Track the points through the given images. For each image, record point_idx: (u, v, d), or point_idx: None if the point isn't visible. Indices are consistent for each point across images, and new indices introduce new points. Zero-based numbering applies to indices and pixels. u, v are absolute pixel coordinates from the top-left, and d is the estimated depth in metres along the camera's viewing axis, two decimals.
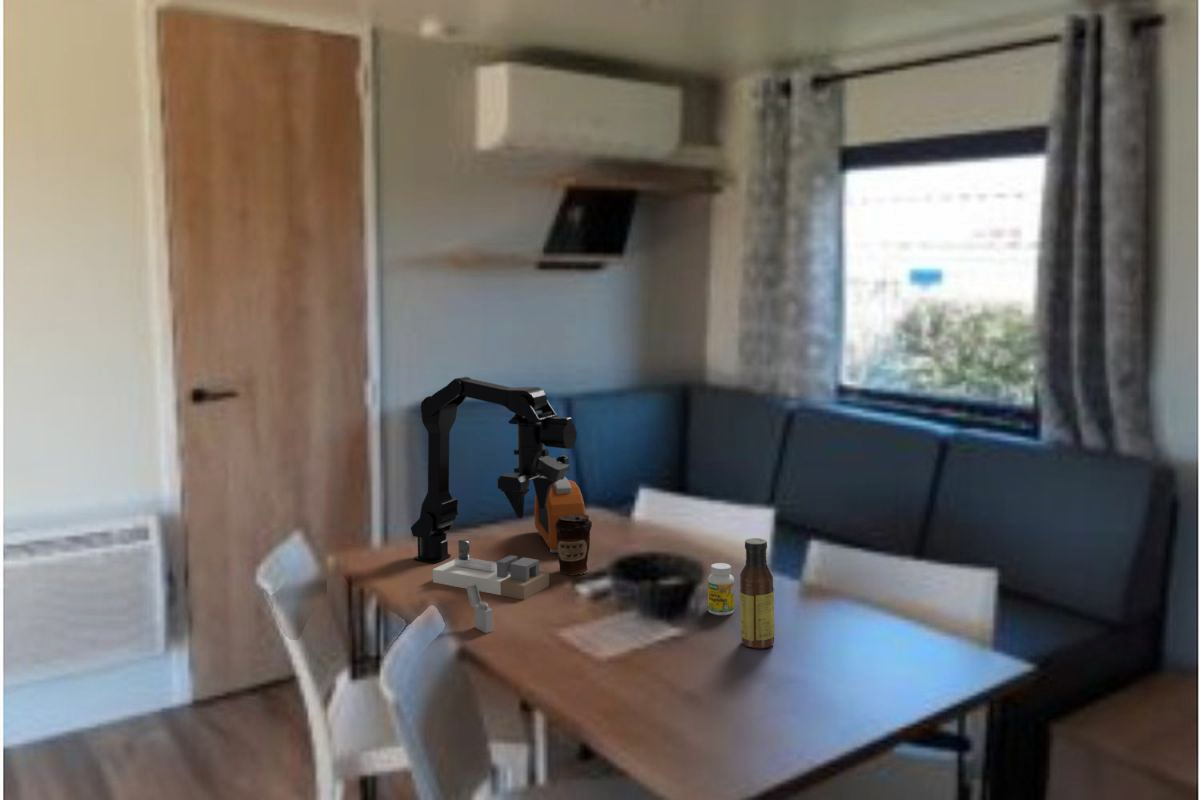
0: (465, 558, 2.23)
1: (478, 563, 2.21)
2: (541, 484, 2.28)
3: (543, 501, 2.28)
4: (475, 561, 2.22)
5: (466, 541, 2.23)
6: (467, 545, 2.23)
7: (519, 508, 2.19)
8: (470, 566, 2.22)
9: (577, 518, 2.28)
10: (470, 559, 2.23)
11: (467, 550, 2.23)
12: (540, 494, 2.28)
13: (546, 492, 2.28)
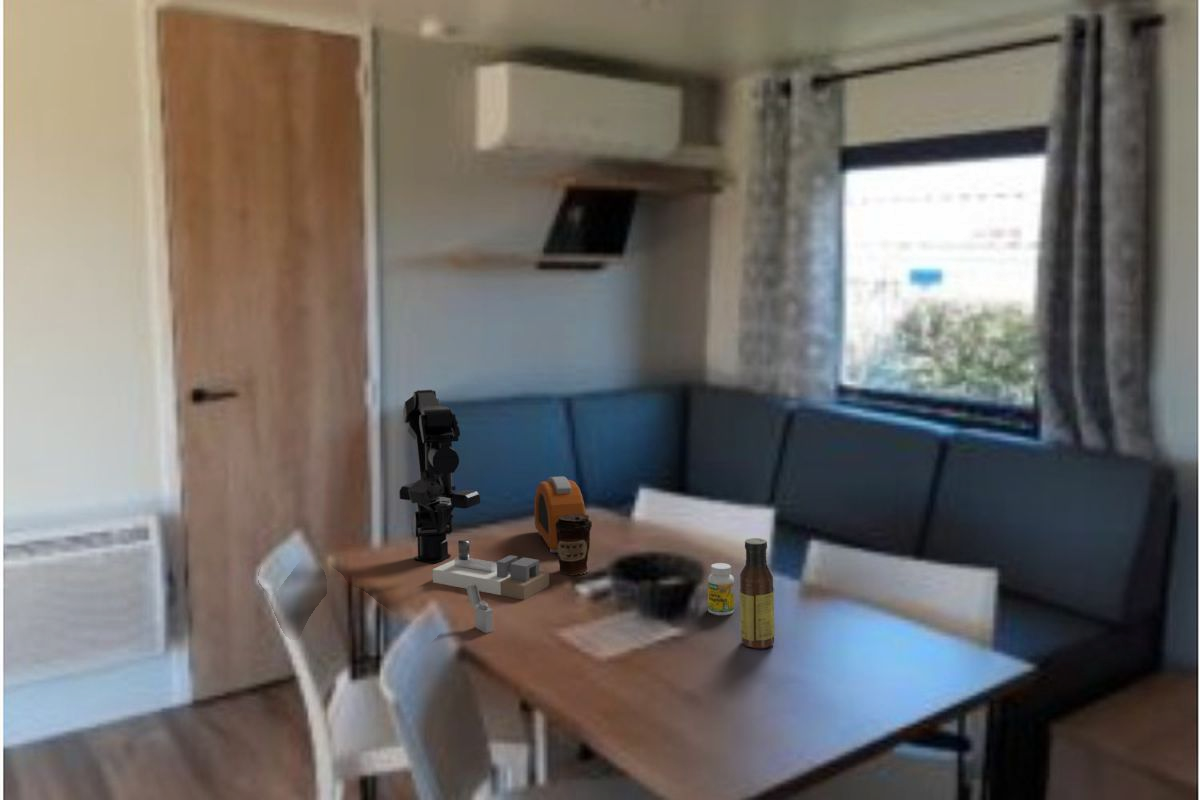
0: (465, 558, 2.23)
1: (478, 563, 2.21)
2: None
3: None
4: (475, 561, 2.22)
5: (466, 541, 2.23)
6: (467, 545, 2.23)
7: None
8: (470, 566, 2.22)
9: (577, 518, 2.28)
10: (470, 559, 2.23)
11: (467, 550, 2.23)
12: None
13: None
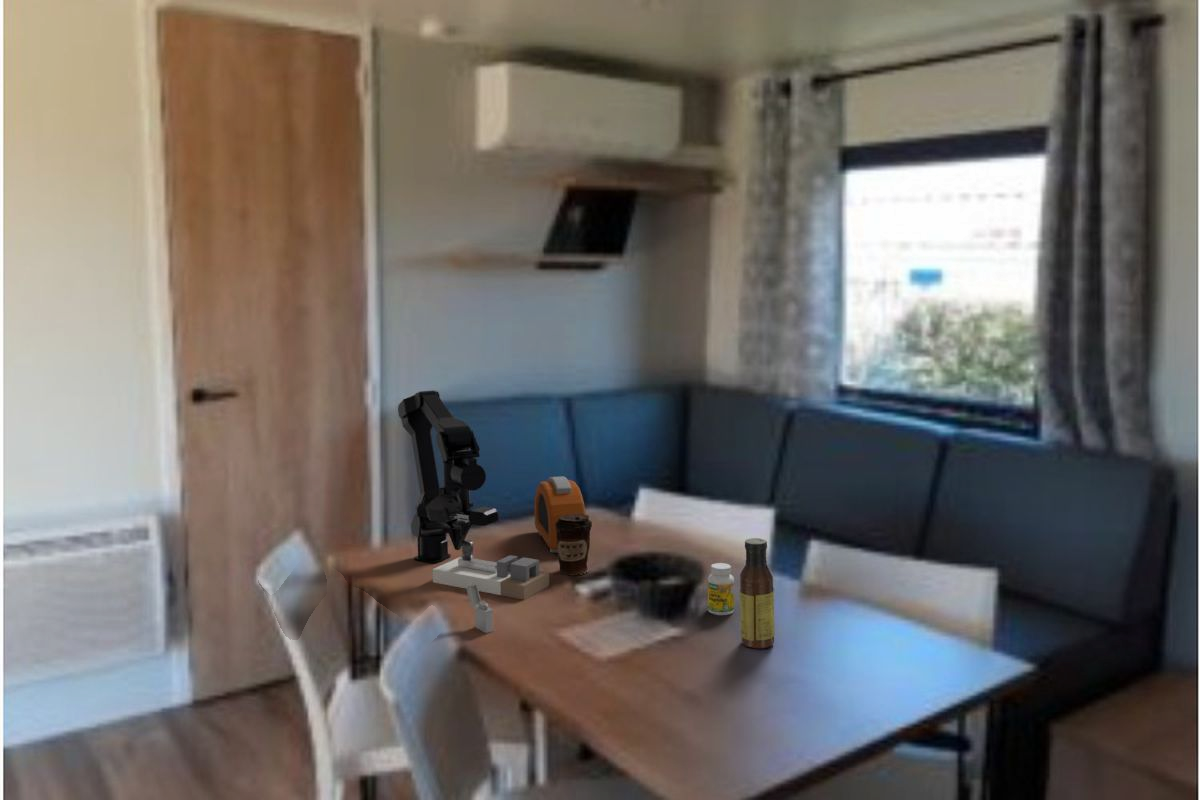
0: (469, 559, 2.22)
1: (481, 564, 2.21)
2: None
3: None
4: (479, 562, 2.21)
5: (470, 542, 2.23)
6: (471, 546, 2.22)
7: None
8: (474, 567, 2.22)
9: (577, 518, 2.28)
10: (474, 560, 2.23)
11: (470, 551, 2.22)
12: None
13: None
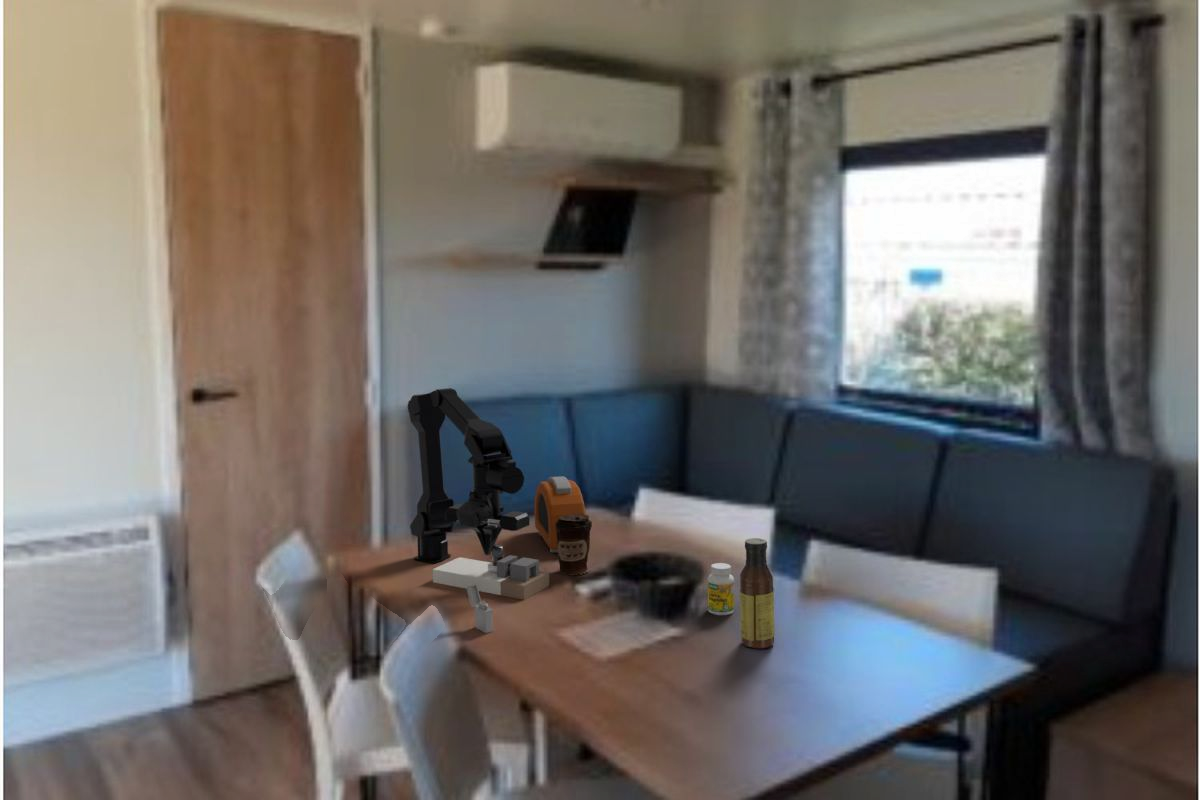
0: None
1: None
2: None
3: None
4: None
5: (500, 547, 2.19)
6: (501, 551, 2.18)
7: None
8: None
9: (577, 518, 2.28)
10: None
11: (501, 556, 2.18)
12: None
13: None
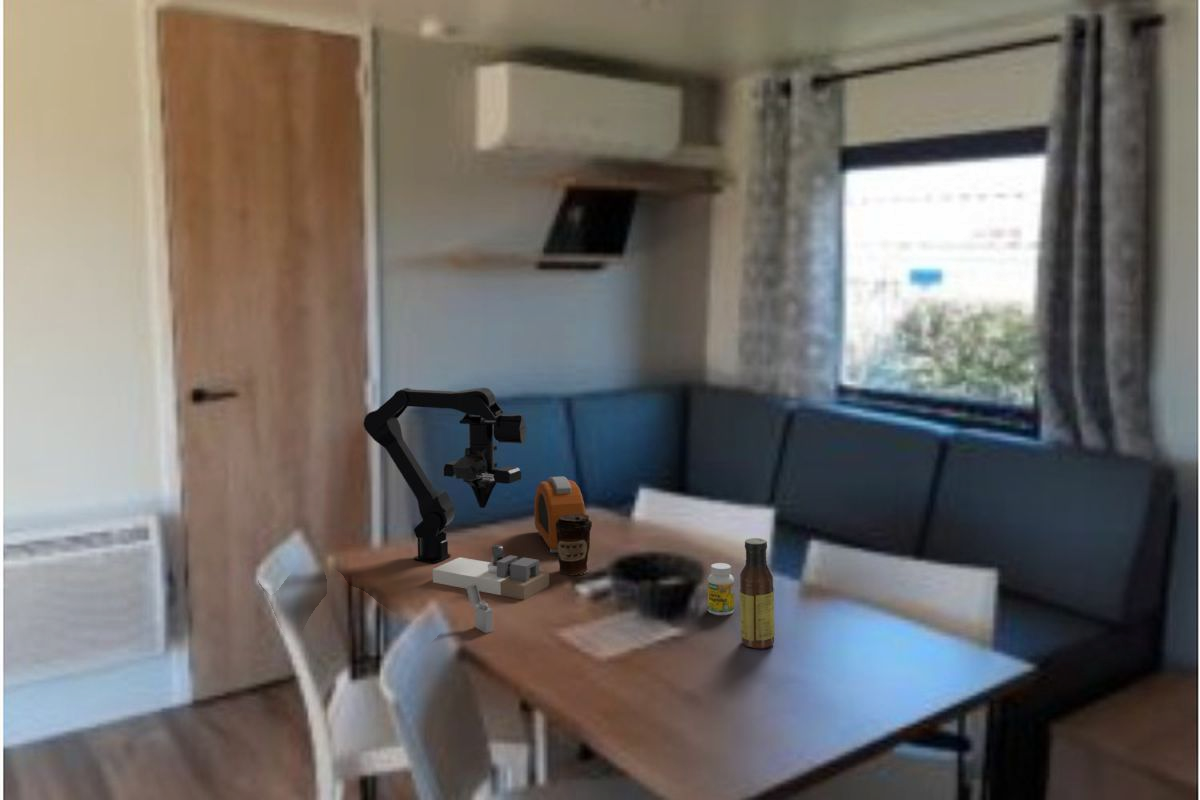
0: None
1: None
2: None
3: None
4: None
5: (500, 547, 2.19)
6: (501, 551, 2.18)
7: None
8: None
9: (577, 518, 2.28)
10: None
11: (501, 556, 2.18)
12: None
13: None
